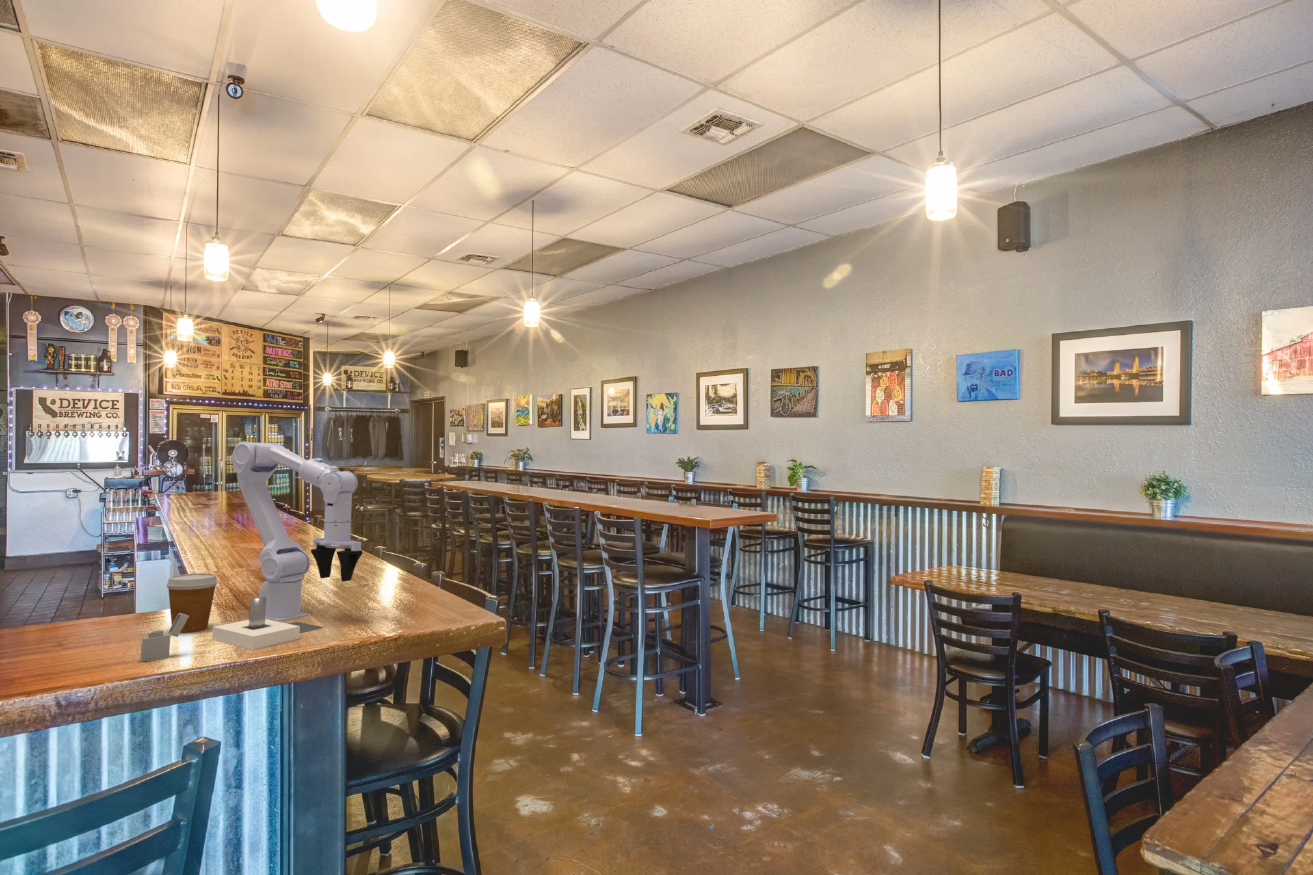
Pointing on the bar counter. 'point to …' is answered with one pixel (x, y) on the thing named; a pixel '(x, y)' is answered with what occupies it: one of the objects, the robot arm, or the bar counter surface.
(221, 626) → the block
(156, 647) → the lighter
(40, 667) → the bar counter surface
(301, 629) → the mat
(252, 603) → the peg
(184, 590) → the disposable coffee cup
